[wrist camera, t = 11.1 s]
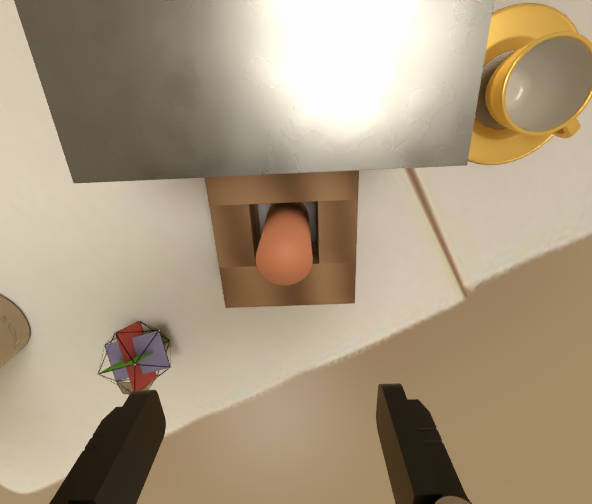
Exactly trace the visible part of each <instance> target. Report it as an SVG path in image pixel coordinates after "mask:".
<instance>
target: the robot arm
mask: <svg viewBox="0 0 592 504" xmlns="http://www.w3.org/2000/svg"><path fill="white" fill-rule="evenodd" d="M29 335H30V332H29V326H28V323H27V320H26V319H25V317H24V315H23V314H22V313H21V311H20V310H19V309H18V308H17V307H16V306H15V305H14V304H12V303H11V302H10V301H9V300H7V299H6V298H4V297H2V296H1V295H0V367H1V366H2V365H3V364H5V363H6V362H7V361H8V360H9V359H10V358H11V357H13V356H14V355H15V354H16V353H17V352H18V351H19V350H21V349H22V348H23V347H24V346H25V345H26V343H27V342H28V340H29ZM376 422H377V429H378V434H379V438H380V442H381V446H382V450H383V454H384V458H385V462H386V466H387V470H388V475H389V479H390V483H391V486H392V491H393V495H394V499H395V503H396V504H472V503H471V502H470V501H469V499H468V498H467V496H466V494H465V492H464V490H463V488H462V485H461V483H460V481H459V478H458V476H457V474H456V472H455V469H454V467H453V465H452V462H451V460H450V458H449V456H448V453H447V451H446V448H445V446H444V444H443V443H442V439H441V437H440V435H439V432H438V431H437V429H436V425H435V423H434V421H433V419H432V416H431V414H430V412H429V411H428V410H427V409H426V408H425V406H424V405H423V404H422V403H421V402H420V401H419V400H418V399H417V400H407V398H406V395H405V392H404V390H403V387H402V385H401V384H379V386H378V397H377V410H376ZM165 428H166V420H165V416H164V413H163V409H162V406H161V403H160V399H159V396H158V393H157V391H156V390H138V391H133V392H131V394H130V395H129V397H128V398H127V400H126V402H125V403H124V405H123V407H116V408H115V409H114V410H113V411H111V412H110V413H109V414H108V415H107V416H106V417H105V418H104V419H103V420H102V421H101V423H100V425H99V426H98V428H97V429H96V431H95V432H94V434H93V437H92V438H91V439H90V440H89V442H88V444H87V445H86V447H85V450H84V451H83V452H82V453H81V455H80V456H79V458H78V459H77V461H76V463H75V464H74V466H73V467H72V469H71V471H70V472H69V474H68V475H67V477H66V478H65V480H64V482H63V483H62V485H61V486H60V488H59V490H58V491H57V493H56V495H55V496H54V498H53V499H52V500H51V502H50V504H136V503H137V500H138V498H139V496H140V493H141V491H142V489H143V486H144V483H145V481H146V479H147V476H148V474H149V471H150V469H151V466H152V464H153V462H154V459H155V457H156V454H157V452H158V450H159V447H160V444H161V442H162V440H163V437H164V434H165Z"/></svg>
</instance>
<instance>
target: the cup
mask: <svg viewBox="0 0 592 504" xmlns="http://www.w3.org/2000/svg"><path fill="white" fill-rule="evenodd" d="M511 50H516V51H514V52H513V53H512V54H510V55H509V56H508V57H507V58H506V59H504V60H503V61H502V62H501V63H500V65H499V66H498V67H497V68H496V69H495V71H494V72H493V74H492V75H491V77H490V79H489V81H488V84H487V87H486V90H485V103H486V107H487V110H488V112H489V114H490V115H491V117H492V118H493V119H494V120H495V121H496V122H497V123H498V124H500V125H501V126H503V127H505V129H491V128H488V127H486V126H484V125H482V124H481V123H480V122H479V121H478V120H477V119H476V117H475V120H474V126H473V132H472V138H471V144H470V150H469V156H468V160H469V161H471V162H475V163H479V164H485V165H496V164H504V163H508V162H512V161H515V160H518V159H520V158H523V157H525V156H527V155H529V154H530V153H532V152H534V151H535V150H537V149H538V148H540V147H541V146H542V145H544V144H545V143H546V142H547V141H548V140H549V139H551V138H552V137H553V136H554V135H555V136H558V137H561V138H570V137H571V136H573V135H574V134H575V133H576V132H577V131H578V130H579V129H580V124H579V122H578V120H577V119H576V117H577V116H578V115H579V114H580V113H581V112H582V111H583V110H584V109H585V107H586V106H587V104H588V103H589V101H590V100H591V98H592V43H591V42H590V41H589V40H588V39H587V38H586V37H584V36H583V35H581V34H579V33H578V31H577V29H576V27H575V26H574V24H573V23H572V22H571V21H570V20H569V19H568V18H567V17H566V16H565V15H564V14H563V13H561V12H560V11H558V10H556V9H554V8H552V7H549V6H546V5H542V4H536V3H523V4H516V5H512V6H508V7H505V8H503V9H500V10H498V11H496V12H494V13H492V17H491V23H490V29H489V35H488V41H487V47H486V53H485V59H484V65H483V67H484V66H485V65H486V64H487V63H488V62H489V61H490V60H492V59H493V58H494V57H496V56H498V55H500V54H502V53H504V52H507V51H511Z"/></svg>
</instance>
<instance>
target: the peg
mask: <svg viewBox="0 0 592 504" xmlns="http://www.w3.org/2000/svg"><path fill="white" fill-rule="evenodd" d="M312 263H313V257H312V247H311V237H310V227H309V217H308V211H307V208H306V207H305V205H304V204H303V203H302V202H289V203H273V204H272V205H271V206H270V208H269V211H268V214H267V218H266V221H265V225H264V228H263V232H262V235H261V239H260V242H259V246H258V249H257V253H256V265H257V268H258V270H259V272H260V274H261V275H262V276H263V277H264V278H265V279H267V280H268V281H270V282H272V283H274V284H278V285H291V284H295V283H297V282H299V281H301V280H303V279H304V278H305V277H306V276H307V275H308V273H309V272H310V270H311V267H312Z"/></svg>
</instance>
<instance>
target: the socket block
mask: <svg viewBox="0 0 592 504" xmlns="http://www.w3.org/2000/svg"><path fill="white" fill-rule="evenodd" d="M205 181H206V188H207V194H208V200H209V206H210V212H211V219H212V225H213V231H214V237H215V244H216V250H217V256H218V262H219V269H220V275H221V281H222V287H223V294H224V300H225V306H226V308H233V307H261V306H290V305H318V304H347V303H355V275H356V243H357V212H358V181H359V170H353V171H331V172H309V173H287V174H265V175H244V176H222V177H205ZM312 201H315V205H316V242H311V247H312V257H313V263H312V267H311V270H310V272H309V273H308V275H307V276H306V277H305V278H304V279H303V280H301V281H299V282H297V283H295V284H291V285H278V284H274V283H272V282H270V281H268V280H267V279H265V278H264V277H263V276H262V275H261V274H260V272H259V270H258V268H257V265H256V253H257V249H258V246H259V242H260V239H261V234H260V224H259V214H258V204H266V203H289V202H312Z"/></svg>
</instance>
